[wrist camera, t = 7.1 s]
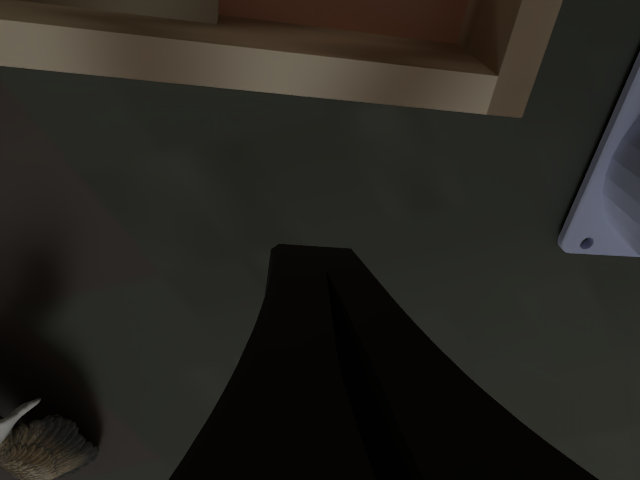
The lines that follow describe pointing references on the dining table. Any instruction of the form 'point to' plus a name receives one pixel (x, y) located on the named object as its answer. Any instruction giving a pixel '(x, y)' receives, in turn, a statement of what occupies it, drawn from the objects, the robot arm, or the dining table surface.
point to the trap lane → (297, 46)
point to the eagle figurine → (42, 446)
